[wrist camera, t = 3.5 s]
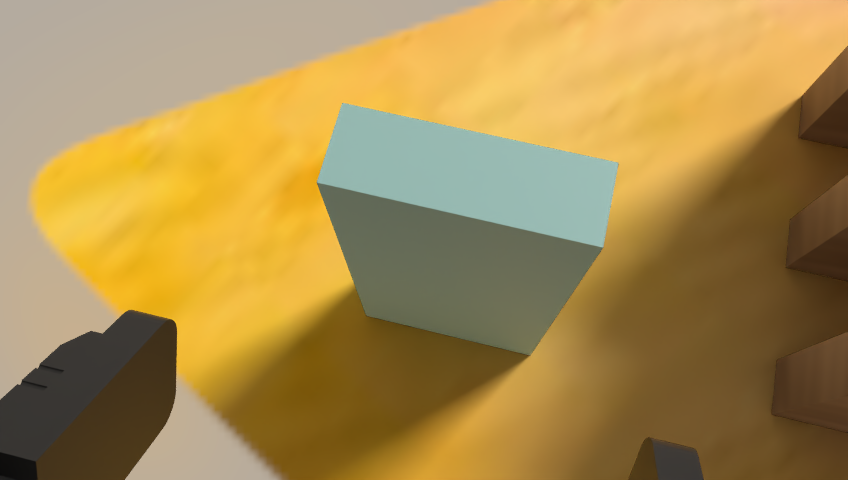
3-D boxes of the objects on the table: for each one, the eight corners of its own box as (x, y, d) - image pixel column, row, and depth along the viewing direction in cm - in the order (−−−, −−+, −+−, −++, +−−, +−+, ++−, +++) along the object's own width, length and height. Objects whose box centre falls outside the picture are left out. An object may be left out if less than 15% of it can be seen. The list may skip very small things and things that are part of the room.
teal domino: (530, 355, 22) (603, 247, 12) (366, 315, 22) (316, 182, 13) (540, 303, 22) (618, 162, 13) (380, 266, 23) (342, 102, 13)
